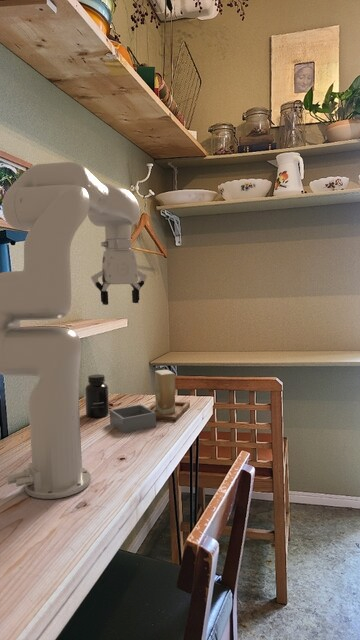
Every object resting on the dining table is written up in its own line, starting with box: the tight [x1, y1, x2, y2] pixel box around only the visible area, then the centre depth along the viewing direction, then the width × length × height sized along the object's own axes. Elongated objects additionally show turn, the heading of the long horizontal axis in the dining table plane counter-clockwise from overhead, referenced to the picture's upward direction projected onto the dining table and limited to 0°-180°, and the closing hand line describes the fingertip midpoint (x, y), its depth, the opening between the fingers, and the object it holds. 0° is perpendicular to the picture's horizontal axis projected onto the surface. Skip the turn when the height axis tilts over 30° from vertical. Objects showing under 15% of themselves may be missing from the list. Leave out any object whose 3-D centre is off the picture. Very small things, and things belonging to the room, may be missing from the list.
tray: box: [140, 401, 191, 423], centre depth 134 cm, size 15×11×1 cm
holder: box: [109, 404, 157, 434], centre depth 123 cm, size 10×10×4 cm
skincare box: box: [154, 369, 176, 415], centre depth 133 cm, size 6×4×12 cm
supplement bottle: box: [84, 374, 110, 419], centre depth 133 cm, size 7×7×12 cm
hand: (120, 303), depth 133 cm, fingers open, 9 cm apart
